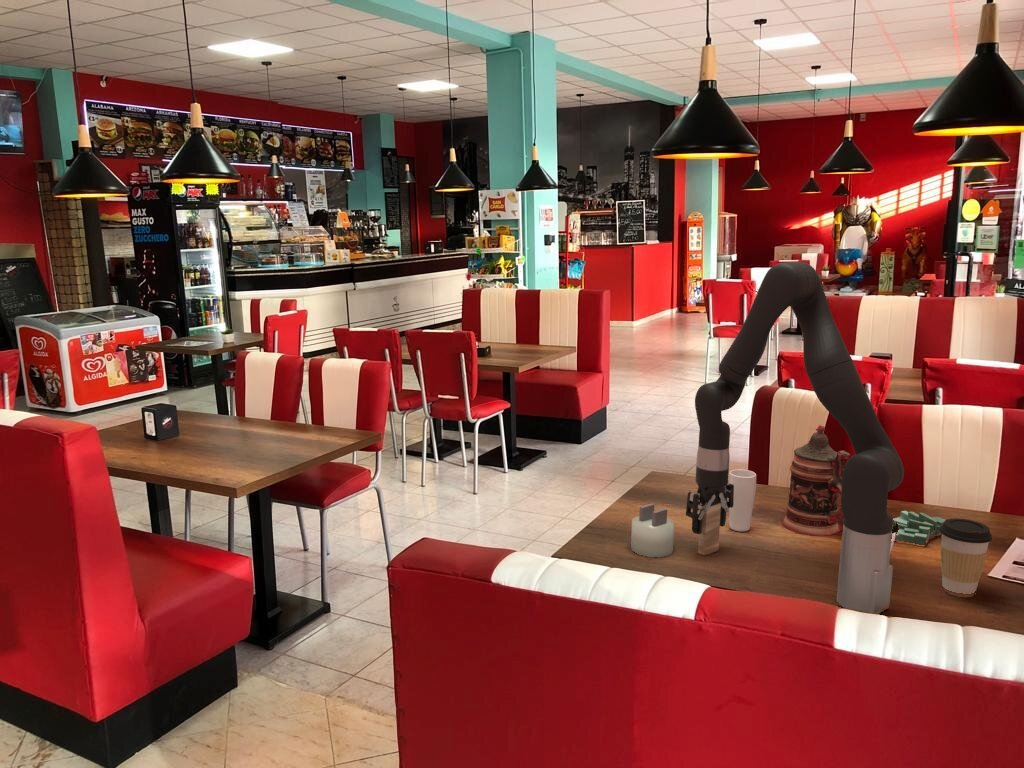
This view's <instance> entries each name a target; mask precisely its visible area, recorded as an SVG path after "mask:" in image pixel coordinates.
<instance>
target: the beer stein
mask: <svg viewBox="0 0 1024 768" xmlns="http://www.w3.org/2000/svg"><path fill="white" fill-rule="evenodd" d="M825 430H826V427H825V426H823V425H822V424H819V425H818V427H817V428H815V431H816V432H814V433H812V435H811V436H810V438H809V441H808V443H805V444H804V445H802V446H799V447H796V448H795V449H794V451H793V458H792V462H791V465H790V467H789V470H790V480H789V481H790V482H789V492H788V502H787V504H786V514H785V517H784V519H782V521H781V523H782V524H781V525H782V526H783V527H784V528H786V529H788V530H790V531H792V532H795V533H798V534H802V535H807V536H813V537H815V536H816V537H823V536H824V537H826V536H831V535H835V534H836V535H837V534H838V533H840V531H842V530H843V527H842V524H840V523H839V522H838V520H840V521H842V520H844V516H843V513H842V510H841V507H840V508H838V505H839V496H840V494H841V488H842V474H843V469H844V466H845V460H848V459H849V458H851V453H849V452H847V451H845V450H839V451H838V452H837V451H835V450H834V449H833V448H832V447H831V446H830V444H829V438H828V436H827V435H826V434H825V433H824V432H825Z"/></svg>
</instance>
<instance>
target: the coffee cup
mask: <svg viewBox="0 0 1024 768" xmlns="http://www.w3.org/2000/svg"><path fill="white" fill-rule="evenodd" d="M939 531H940V533H941V534H942V535H941V542H940V564H941V565H940V569H941V570H940V573H941V577H942V578H941V580H942V581H941V583H942V584H941V585H942V586H943V587H944V588H945V589H947V590H949V591H952V592H956V593H963V594H971V593H974V592H975V591H976V592H977V589H978V584H979V581H980V579H981V576H982V573H983V570H984V564H985V561H986V558H987V553H988V548H989V544H990V542H991V541H992V540H993V536H992V533H991V531H990V527H989V526H987V525H986V524H984V523H982V522H979V521H976V520H972V519H967V518H957V517H956V518H948V519H945V521H944V523H943V525H941V527H940V529H939Z"/></svg>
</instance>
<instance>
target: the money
mask: <svg viewBox="0 0 1024 768" xmlns="http://www.w3.org/2000/svg"><path fill="white" fill-rule="evenodd" d="M893 520H894V521H895V522H897V524H898V528H899V530H898V532H897V534H896V538H895V540H899V541H904V542H909V543H915V544H919V545H925V543H926V541H927V540H928V539H929V538H930V537H932V536H934V535H937V534H939V533H940V531H939V529H940V527H941V525H943V523H944V521H945V520H946V519H945V518H942V517H939V516H938V517H937V516H934V517H933V516H930V515H928V514H926V513H925V512H919V513H917V512H915V511H907V510H903V511H900V516H897V517H893ZM926 544H927V543H926ZM925 546H926V545H925Z"/></svg>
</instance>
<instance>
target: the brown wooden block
mask: <svg viewBox="0 0 1024 768" xmlns="http://www.w3.org/2000/svg"><path fill="white" fill-rule="evenodd" d="M700 506H702V507H703V505H702V504H700ZM720 511H721V503H718V504H716V505H713V506H710V507H709V509H708V511H707V512H705V513H704V515H703V517H702V531H701V534H698V546H697V547H698V548H697V553H698V554H700V555H703V556H706V555H710V554H712V553H715V552H718V551H719V546H720V544H719V543H720V528H721V526H720Z"/></svg>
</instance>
